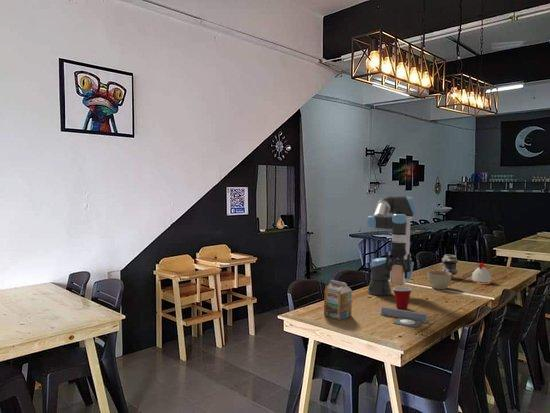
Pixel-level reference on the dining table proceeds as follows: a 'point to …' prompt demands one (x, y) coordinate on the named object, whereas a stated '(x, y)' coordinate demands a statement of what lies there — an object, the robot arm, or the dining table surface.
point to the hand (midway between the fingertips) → (397, 283)
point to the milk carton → (337, 300)
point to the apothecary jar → (449, 264)
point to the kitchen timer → (481, 275)
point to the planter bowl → (439, 279)
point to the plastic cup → (402, 297)
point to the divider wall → (404, 314)
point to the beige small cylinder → (397, 275)
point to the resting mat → (407, 322)
